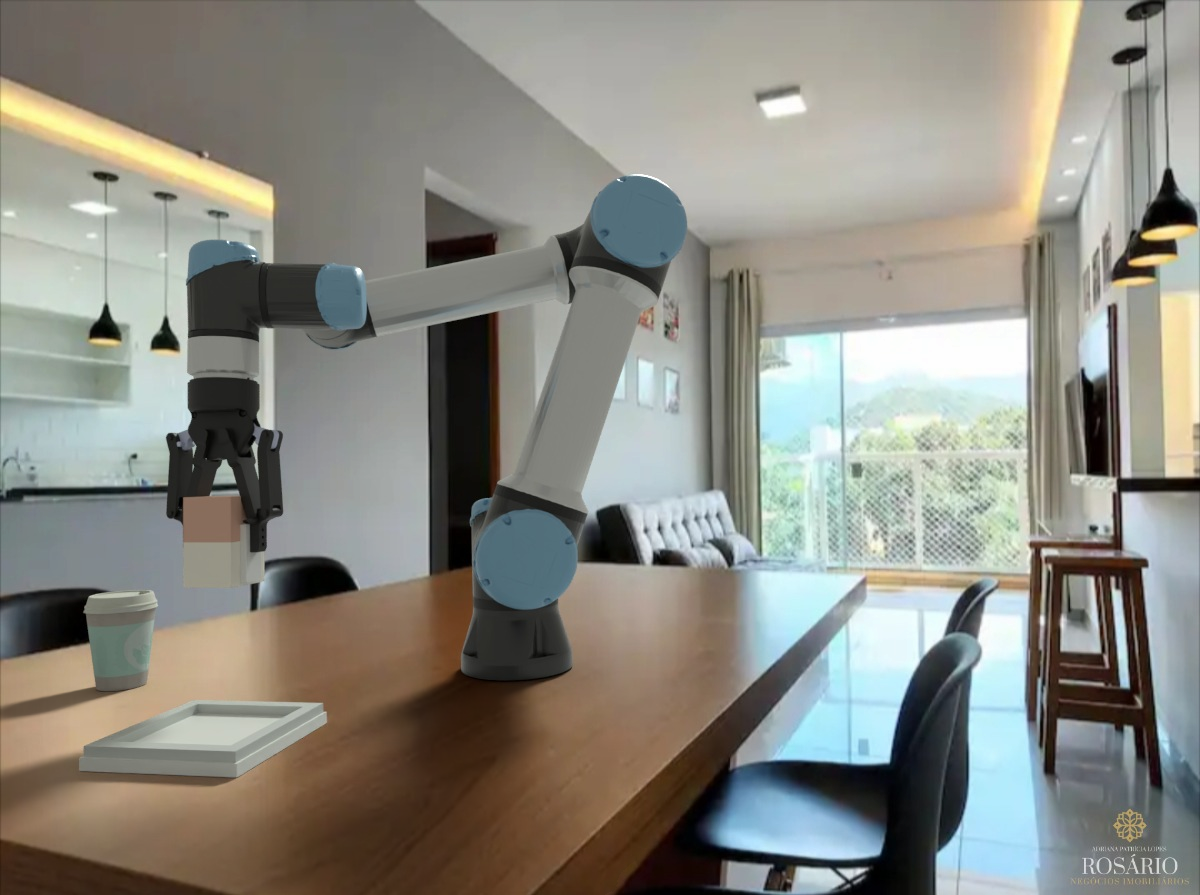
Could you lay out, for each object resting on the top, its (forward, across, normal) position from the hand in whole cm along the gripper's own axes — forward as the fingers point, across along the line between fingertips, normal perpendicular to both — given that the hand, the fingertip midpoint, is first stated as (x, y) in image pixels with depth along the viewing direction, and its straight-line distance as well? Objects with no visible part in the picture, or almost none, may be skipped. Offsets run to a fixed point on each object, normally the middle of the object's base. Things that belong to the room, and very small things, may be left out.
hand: (224, 581), depth 93 cm
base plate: (+15, -6, +10) cm, 19 cm away
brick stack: (0, 0, 0) cm, 0 cm away
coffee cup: (+15, +23, -10) cm, 30 cm away
